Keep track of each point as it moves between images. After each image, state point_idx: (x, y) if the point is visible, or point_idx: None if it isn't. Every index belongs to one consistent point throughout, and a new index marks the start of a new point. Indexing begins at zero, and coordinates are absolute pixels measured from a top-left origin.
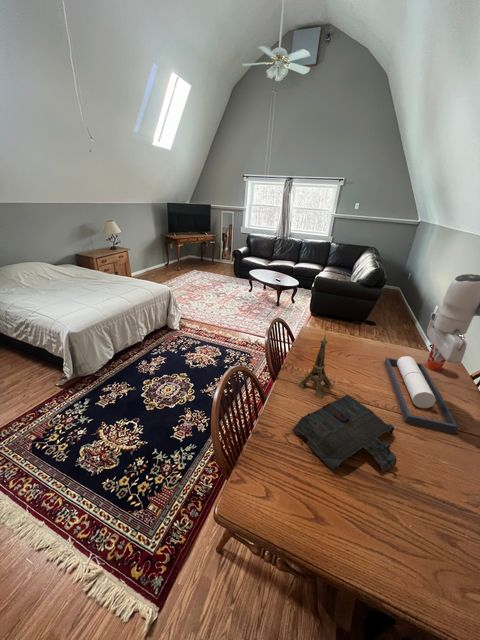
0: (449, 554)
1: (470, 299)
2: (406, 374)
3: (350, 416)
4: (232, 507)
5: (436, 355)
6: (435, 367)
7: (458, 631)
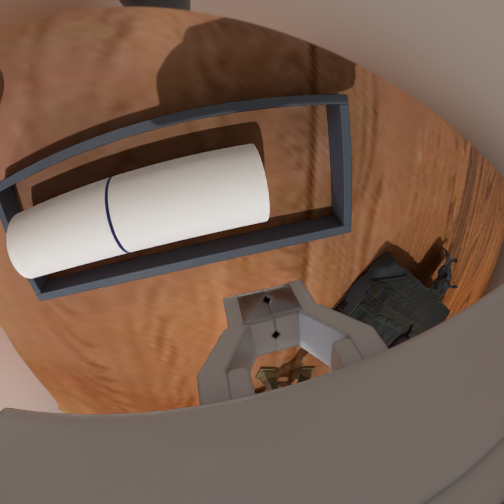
0: (494, 192)
1: None
2: (128, 252)
3: (395, 335)
4: None
5: (308, 350)
6: None
7: None
